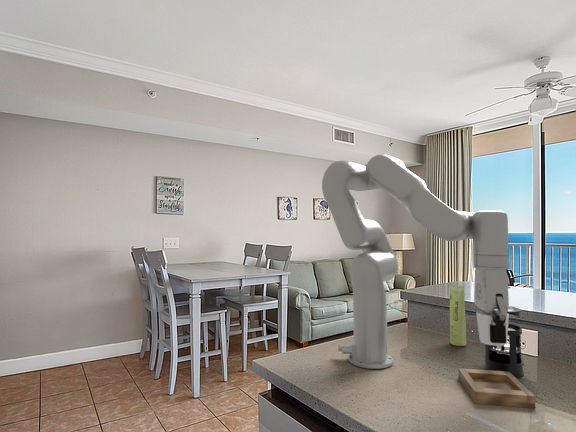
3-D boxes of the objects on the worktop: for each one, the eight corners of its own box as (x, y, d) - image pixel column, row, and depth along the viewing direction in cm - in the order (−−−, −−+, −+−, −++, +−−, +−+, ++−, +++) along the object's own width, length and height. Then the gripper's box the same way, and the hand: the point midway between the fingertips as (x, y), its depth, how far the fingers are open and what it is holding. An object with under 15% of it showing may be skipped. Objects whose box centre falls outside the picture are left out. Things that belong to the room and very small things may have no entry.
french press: (534, 378, 95) (531, 288, 96) (498, 379, 95) (496, 288, 96) (505, 362, 107) (504, 281, 108) (473, 362, 107) (472, 282, 108)
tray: (474, 403, 82) (474, 391, 82) (458, 378, 96) (458, 368, 96) (535, 408, 80) (535, 396, 80) (509, 381, 93) (509, 371, 94)
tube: (446, 344, 124) (445, 285, 124) (450, 340, 128) (449, 283, 128) (464, 347, 120) (463, 286, 121) (468, 343, 124) (467, 285, 125)
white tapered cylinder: (496, 348, 83) (495, 316, 84) (470, 340, 90) (469, 311, 90) (517, 344, 86) (515, 313, 86) (490, 337, 92) (489, 308, 93)
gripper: (464, 259, 98) (465, 328, 97) (485, 265, 81) (487, 349, 80) (495, 259, 97) (497, 329, 96) (523, 265, 80) (526, 351, 79)
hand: (492, 337), depth 88 cm, fingers closed on white tapered cylinder, 6 cm apart
